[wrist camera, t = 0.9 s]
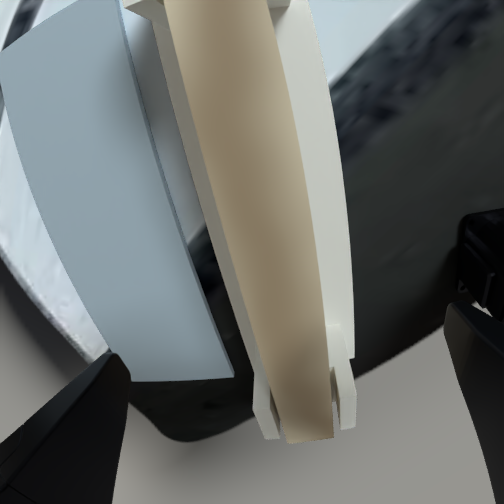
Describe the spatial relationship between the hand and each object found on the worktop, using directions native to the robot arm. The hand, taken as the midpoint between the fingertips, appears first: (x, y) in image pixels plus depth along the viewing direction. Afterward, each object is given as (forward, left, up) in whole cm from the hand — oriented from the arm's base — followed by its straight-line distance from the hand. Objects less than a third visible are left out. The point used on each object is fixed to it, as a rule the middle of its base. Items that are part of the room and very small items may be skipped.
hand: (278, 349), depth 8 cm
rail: (0, 0, -7) cm, 7 cm away
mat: (+11, 0, -12) cm, 17 cm away
